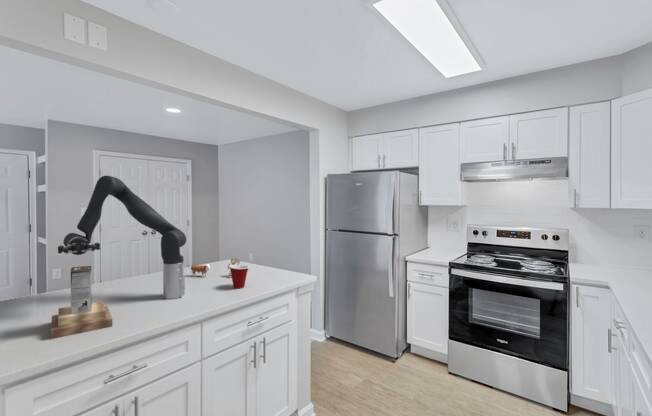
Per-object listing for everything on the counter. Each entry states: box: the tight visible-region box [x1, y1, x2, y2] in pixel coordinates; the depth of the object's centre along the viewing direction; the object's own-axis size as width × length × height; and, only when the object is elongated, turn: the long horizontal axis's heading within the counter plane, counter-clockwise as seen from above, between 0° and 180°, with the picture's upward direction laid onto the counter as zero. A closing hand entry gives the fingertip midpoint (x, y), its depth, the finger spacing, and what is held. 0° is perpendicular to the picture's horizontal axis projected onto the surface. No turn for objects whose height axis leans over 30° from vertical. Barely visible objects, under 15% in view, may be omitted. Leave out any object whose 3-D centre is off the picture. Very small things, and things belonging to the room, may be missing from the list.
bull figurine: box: [190, 263, 211, 278], centre depth 201 cm, size 4×13×8 cm, turn 78°
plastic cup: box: [229, 264, 250, 289], centre depth 178 cm, size 11×11×12 cm
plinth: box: [50, 301, 113, 340], centre depth 124 cm, size 18×18×6 cm
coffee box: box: [70, 265, 93, 314], centre depth 123 cm, size 9×6×16 cm
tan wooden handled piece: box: [225, 257, 240, 279], centre depth 202 cm, size 9×4×12 cm, turn 136°
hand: (80, 249), depth 131 cm, fingers open, 8 cm apart
